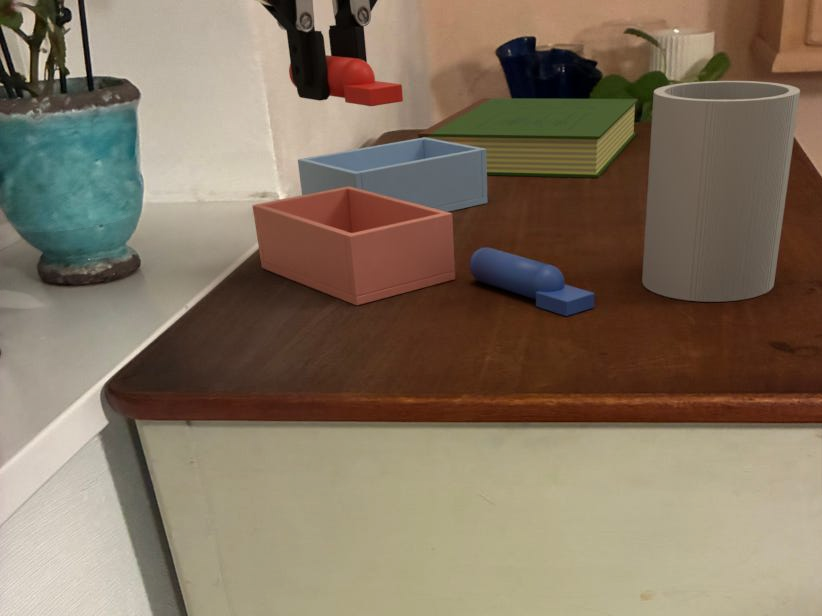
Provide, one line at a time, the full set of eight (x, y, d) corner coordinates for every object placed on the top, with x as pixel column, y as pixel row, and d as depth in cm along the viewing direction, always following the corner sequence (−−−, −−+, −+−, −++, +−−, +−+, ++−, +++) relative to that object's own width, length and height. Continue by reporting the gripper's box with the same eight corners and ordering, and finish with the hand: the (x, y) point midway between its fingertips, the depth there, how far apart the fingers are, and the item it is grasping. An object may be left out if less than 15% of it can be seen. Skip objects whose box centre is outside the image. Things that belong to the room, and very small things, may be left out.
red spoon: (284, 92, 72) (278, 54, 71) (315, 88, 73) (310, 50, 72) (370, 106, 65) (366, 63, 64) (403, 101, 66) (400, 59, 65)
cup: (621, 291, 70) (631, 97, 63) (671, 258, 77) (685, 78, 70) (748, 308, 66) (773, 104, 60) (790, 272, 73) (817, 83, 66)
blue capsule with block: (462, 282, 73) (461, 248, 72) (490, 275, 75) (489, 241, 73) (566, 316, 66) (566, 279, 65) (594, 307, 68) (595, 271, 66)
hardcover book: (483, 132, 124) (482, 98, 122) (635, 134, 120) (637, 99, 118) (418, 174, 105) (415, 135, 103) (596, 179, 100) (597, 137, 98)
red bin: (261, 268, 78) (251, 205, 75) (355, 246, 82) (349, 185, 80) (356, 305, 70) (349, 236, 67) (455, 279, 74) (452, 213, 71)
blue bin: (360, 231, 86) (354, 173, 84) (304, 214, 92) (297, 159, 90) (487, 203, 94) (486, 148, 91) (428, 188, 100) (425, 137, 97)
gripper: (371, -244, 66) (395, 78, 76) (138, -257, 57) (202, 105, 68) (442, -261, 61) (457, 86, 71) (198, -278, 53) (256, 116, 63)
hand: (332, 93), depth 70 cm, fingers closed on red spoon, 2 cm apart
